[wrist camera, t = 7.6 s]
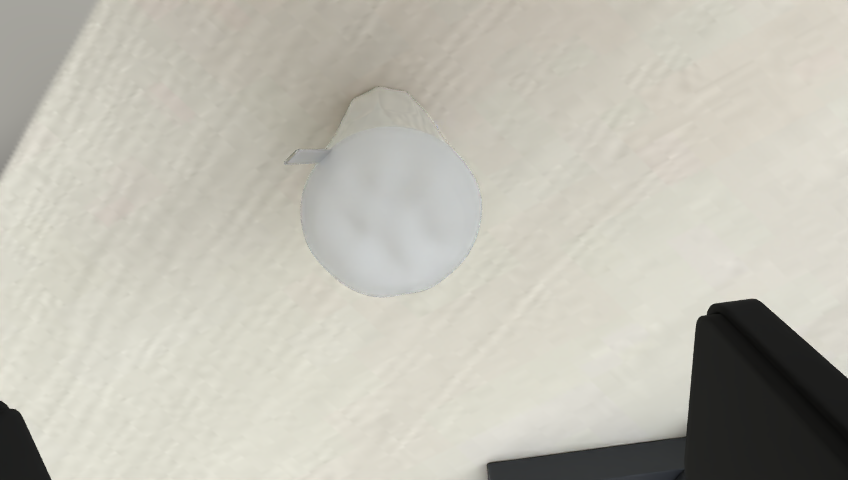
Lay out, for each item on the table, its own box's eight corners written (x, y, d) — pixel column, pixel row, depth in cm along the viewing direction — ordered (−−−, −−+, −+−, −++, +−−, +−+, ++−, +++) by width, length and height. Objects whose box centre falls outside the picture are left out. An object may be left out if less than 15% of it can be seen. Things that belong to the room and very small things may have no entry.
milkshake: (369, 21, 22) (367, 78, 13) (472, 131, 24) (535, 249, 15) (279, 113, 23) (219, 227, 14) (384, 212, 25) (393, 367, 16)
